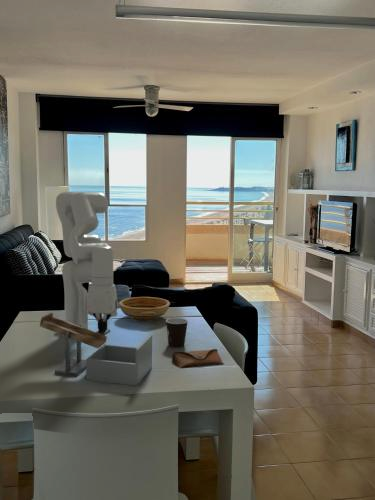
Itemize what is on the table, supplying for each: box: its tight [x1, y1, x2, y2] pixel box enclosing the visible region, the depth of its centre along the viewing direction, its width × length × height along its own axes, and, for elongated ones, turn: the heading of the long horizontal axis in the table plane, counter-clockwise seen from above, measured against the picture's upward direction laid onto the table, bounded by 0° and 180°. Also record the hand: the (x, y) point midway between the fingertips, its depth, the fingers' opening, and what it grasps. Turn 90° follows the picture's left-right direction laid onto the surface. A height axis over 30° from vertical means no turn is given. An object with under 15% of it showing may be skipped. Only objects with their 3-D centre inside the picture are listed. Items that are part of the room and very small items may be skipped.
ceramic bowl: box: [118, 296, 171, 323], centre depth 231 cm, size 30×24×8 cm
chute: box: [39, 312, 111, 349], centre depth 170 cm, size 22×17×3 cm
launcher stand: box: [54, 325, 86, 377], centre depth 166 cm, size 8×12×14 cm, turn 167°
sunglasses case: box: [171, 348, 225, 369], centre depth 176 cm, size 18×7×7 cm
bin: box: [85, 334, 153, 387], centre depth 163 cm, size 18×16×12 cm
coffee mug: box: [165, 317, 188, 349], centre depth 195 cm, size 12×9×10 cm
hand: (102, 331), depth 173 cm, fingers closed
